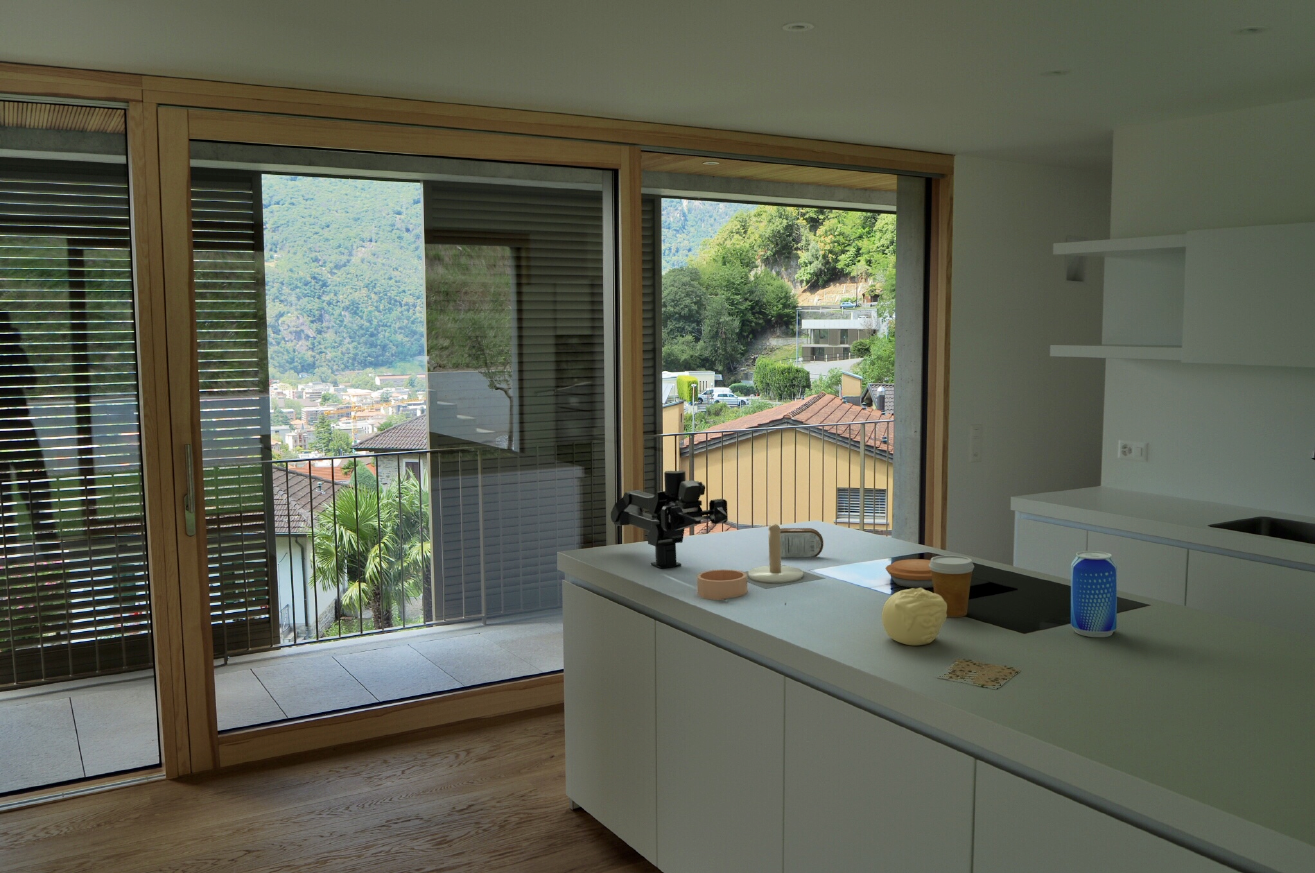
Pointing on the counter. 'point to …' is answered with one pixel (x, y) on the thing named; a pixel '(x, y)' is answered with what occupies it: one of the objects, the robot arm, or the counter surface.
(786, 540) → the tin
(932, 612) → the pale yellow lumpy ball
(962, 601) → the disposable coffee cup
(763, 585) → the mat
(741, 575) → the bowl
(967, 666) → the cookie
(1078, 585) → the beer can
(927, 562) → the pie
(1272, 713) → the counter surface
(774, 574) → the lid
